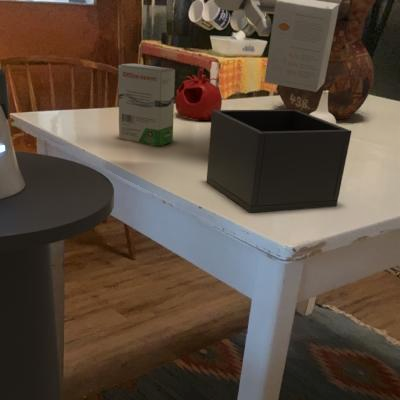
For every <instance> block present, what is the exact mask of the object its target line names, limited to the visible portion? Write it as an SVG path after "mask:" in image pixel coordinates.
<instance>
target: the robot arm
mask: <svg viewBox="0 0 400 400" xmlns="http://www.w3.org/2000/svg"><path fill="white" fill-rule="evenodd" d="M317 1H323V2H330V3H336V4H339V5H340V3H341V1H342V0H317ZM213 2H214V4H215V5H216V6H217V7H218V8H219V9H220V10H221V11H234V12H244V16H245V17H246V18H247V19H248V20H249V22H250V23H251V24H252V25H253V26H254V27H255V28H256V32H257V35H258V36H259V37H270V36H271V32H272V25H273V23H272V19H271V17H267V16H265V14H271V15H272V14H273V15H274V10H275V3H276V0H213ZM9 95H10V94H9V85H8V80H7V77H6V71H5V70H3V68H2V62H1V60H0V199H3V198H6V197H10V196H12V195H15V194H17V193H19V192H20V191H22V190H23V189H24V187H25V182H24V179H23V177H22V174H21V171H20V168H19V165H18V162H17V159H16V155H15V151H16V150H15V147H14V144H13V139H12V134H11V130H10V123H9V119H10V112H11V108H10V107H11V106H10V96H9Z"/></svg>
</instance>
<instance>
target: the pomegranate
mask: <svg viewBox="0 0 400 400" xmlns="http://www.w3.org/2000/svg"><path fill="white" fill-rule="evenodd" d="M204 73H205V69H204V68H199V69H198V77H197V76H196V75H195V74H192V75H191V76H189V75H186V76H181V79H182V78H188V79H186V80H183V81H182V82H181V84H180V85H179V87H178V89H177V91H176V97H175V98H174V105H175V110H176V112H177V114H179V115H180V116H181V117H184V118H186V119H189V120H194V121H209V120H210V121H211V118H212V110H222V105H223V100H222V94H221V91H220V89H219V87H217V86H216V85H215V84H213V83H212V82H210V81H212V80H214V81H218V78H214V77H213V78H207V77H206V74H204Z"/></svg>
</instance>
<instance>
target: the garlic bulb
mask: <svg viewBox="0 0 400 400" xmlns="http://www.w3.org/2000/svg"><path fill="white" fill-rule="evenodd" d="M328 92H329V91H327V90H326V91H323V93H322V96H321V99H320V102H319V105H318V108H317V110H316V111H314V112H312V113H310V114H309V115H311V116H314V117H317V118H319V119H322V120H324V121H327V122H330V123H332V124H335V125H337V119H335V117H334V116H333V115H332V114H331V113H329V112H328Z"/></svg>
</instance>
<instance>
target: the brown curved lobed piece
mask: <svg viewBox="0 0 400 400" xmlns="http://www.w3.org/2000/svg"><path fill="white" fill-rule="evenodd" d="M376 2H377V0H342V1H341V3H340V5H339V9H338V14H337V20H336V25H335V30H334V35H333V40H332V45H331V50H330V56H329V61H328V66H327V71H326V76H325V81H324V84H323V85H322V86H321V87H320V88H319V89H318V90H317V92H314V91H309V90H303V89H298V88H292V87H287V86H282V85H277V87H278V91H279V92H278V93H279V97H280V99H281V101H282V102H283V105H284V106H285V107H286V108H287V110H299V111H301V112H304V113H306V114H310V113H312V112H314V111H316V110H317V108H318V105H319V102H320V99H321V96H322V93H323V91H326V90H327V91H329V92H328V112H329V113H331V114H332V115H333V116H334V117H335V120H339V119H342V120H343V119H346V118H349V117H350V116H352V115H353V114H355V113H356V112H357V111H358V110H359V109H360V108H361V107H362V106H363V104H364V103H365V101H366V100H367V99H368V96H369V95H370V92H371V91H372V88H373V85H374V81H375V80H374V79H375V69H374V63H373V60H372V58H371V55H370V53H369V51H368V49H367V47H366V45H365V44H364V43H365V42H363V39H362V34H363V33H362V32H363V28H364V24H365V21H366V19H367V17H368V14H369V13H370V11H371V10H372V8H373V6H374V5H375V3H376Z"/></svg>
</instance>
